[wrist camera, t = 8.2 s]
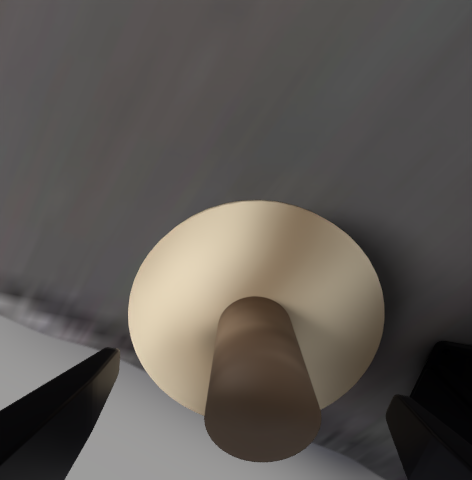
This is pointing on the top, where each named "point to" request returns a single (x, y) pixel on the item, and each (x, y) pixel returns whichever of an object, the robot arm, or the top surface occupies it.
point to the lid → (256, 322)
